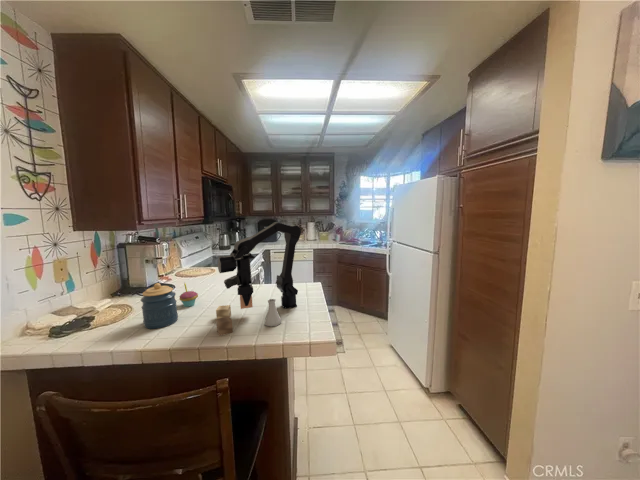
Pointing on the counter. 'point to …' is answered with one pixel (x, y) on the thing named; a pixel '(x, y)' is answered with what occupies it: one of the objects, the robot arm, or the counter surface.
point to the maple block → (223, 311)
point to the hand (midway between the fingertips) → (246, 303)
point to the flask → (272, 314)
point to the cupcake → (188, 297)
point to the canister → (159, 307)
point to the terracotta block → (244, 303)
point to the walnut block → (224, 325)
